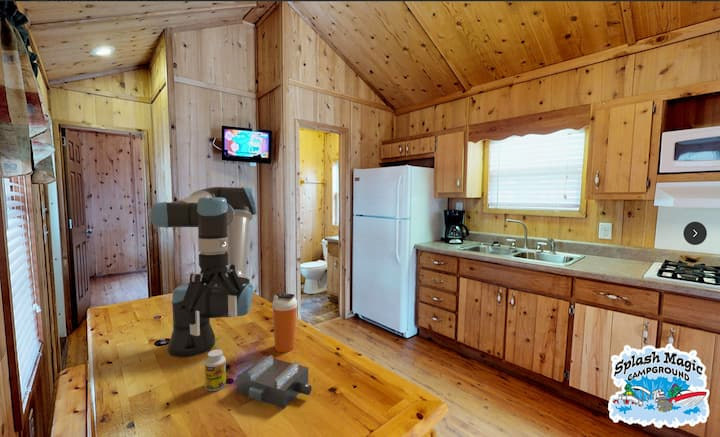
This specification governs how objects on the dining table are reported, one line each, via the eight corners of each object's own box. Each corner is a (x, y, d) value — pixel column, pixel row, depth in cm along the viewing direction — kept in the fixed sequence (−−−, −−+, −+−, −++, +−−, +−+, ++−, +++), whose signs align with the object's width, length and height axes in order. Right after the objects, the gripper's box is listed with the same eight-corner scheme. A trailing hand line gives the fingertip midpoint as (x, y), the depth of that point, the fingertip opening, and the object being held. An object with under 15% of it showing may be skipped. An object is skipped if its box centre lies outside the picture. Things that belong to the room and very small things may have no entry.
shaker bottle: (291, 355, 110) (291, 299, 108) (267, 352, 112) (267, 297, 110) (301, 343, 119) (301, 291, 117) (279, 340, 121) (278, 289, 119)
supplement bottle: (203, 393, 89) (202, 358, 88) (207, 381, 94) (207, 348, 93) (224, 390, 90) (223, 356, 89) (227, 379, 96) (227, 347, 95)
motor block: (231, 397, 88) (231, 375, 87) (264, 370, 100) (264, 351, 100) (292, 418, 80) (292, 393, 80) (320, 386, 93) (320, 365, 92)
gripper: (184, 262, 76) (186, 347, 78) (254, 246, 99) (254, 311, 101) (162, 259, 79) (165, 341, 81) (235, 244, 102) (236, 308, 104)
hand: (215, 324), depth 91 cm, fingers open, 13 cm apart
